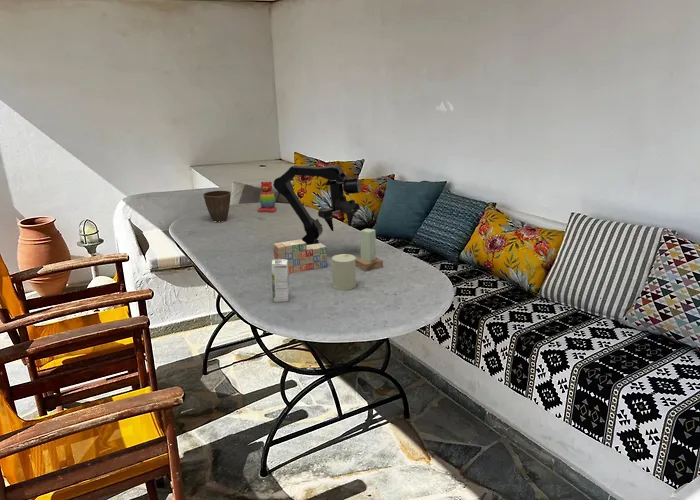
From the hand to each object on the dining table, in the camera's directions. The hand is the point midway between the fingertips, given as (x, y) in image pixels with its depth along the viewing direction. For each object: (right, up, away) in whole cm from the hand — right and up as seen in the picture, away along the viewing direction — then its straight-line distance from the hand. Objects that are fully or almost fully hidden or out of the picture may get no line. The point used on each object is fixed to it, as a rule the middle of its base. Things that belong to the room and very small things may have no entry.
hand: (341, 228), depth 237 cm
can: (+2, -24, -31) cm, 39 cm away
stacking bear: (-46, +14, +87) cm, 99 cm away
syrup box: (-21, -28, -42) cm, 55 cm away
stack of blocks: (-17, -18, -12) cm, 27 cm away
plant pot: (-71, +7, +65) cm, 96 cm away
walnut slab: (+12, -17, -10) cm, 23 cm away
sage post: (+12, -14, -11) cm, 21 cm away
